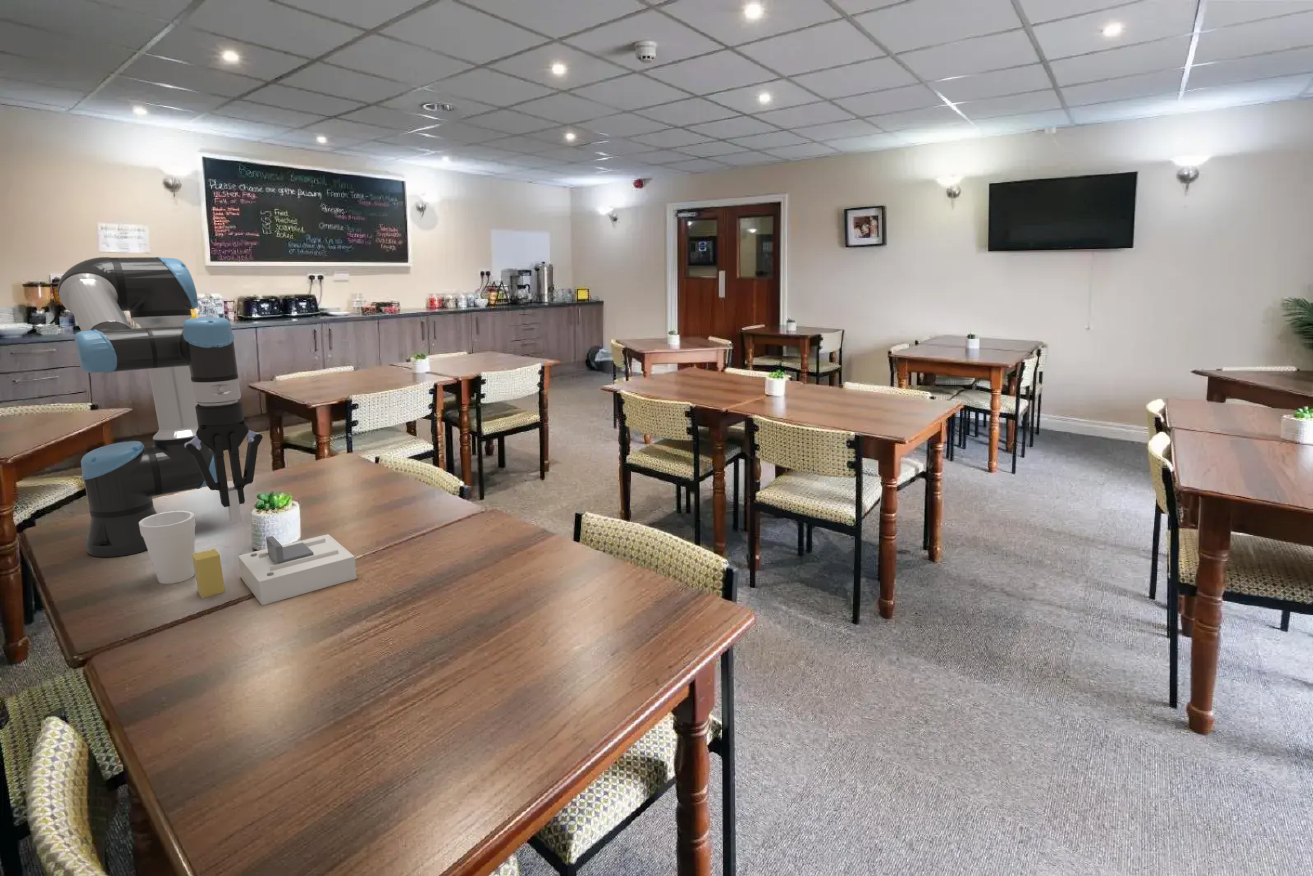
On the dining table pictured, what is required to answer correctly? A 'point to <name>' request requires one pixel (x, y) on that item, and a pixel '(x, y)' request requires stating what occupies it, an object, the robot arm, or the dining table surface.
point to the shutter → (286, 551)
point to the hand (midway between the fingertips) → (235, 520)
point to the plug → (208, 573)
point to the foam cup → (170, 544)
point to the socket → (297, 570)
